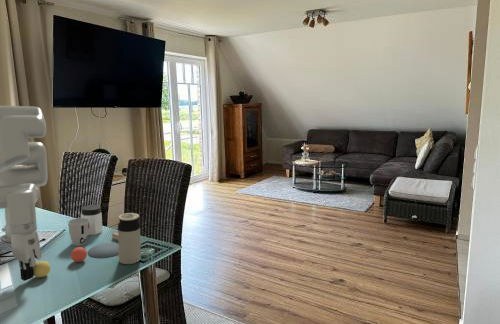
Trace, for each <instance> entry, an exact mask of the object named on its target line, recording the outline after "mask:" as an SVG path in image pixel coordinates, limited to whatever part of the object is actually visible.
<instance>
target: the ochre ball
mask: <svg viewBox="0 0 500 324" xmlns="http://www.w3.org/2000/svg"><path fill="white" fill-rule="evenodd" d="M50 272H51V265H50V264H49V262H48V261H46V260H39V261H37V262H36V265H35V266H33V275H34V277H35V278H43V277H46V276H48V275H49V273H50Z"/></svg>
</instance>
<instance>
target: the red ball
mask: <svg viewBox="0 0 500 324" xmlns="http://www.w3.org/2000/svg"><path fill="white" fill-rule="evenodd" d="M87 256H88V251H87V250H86V249H85V248H84V247H81V246H78V247H75V248H74V249H73V250H71V253H70V258H71V260H72V261H74V262H75V263H81V262H83V261H85V259H86V258H87Z"/></svg>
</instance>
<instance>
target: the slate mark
mask: <svg viewBox="0 0 500 324" xmlns="http://www.w3.org/2000/svg"><path fill="white" fill-rule="evenodd" d="M87 256H89V257H91V258H96V259H106V258H112V257H113V258H114V257H115V256H119V243H118V242H117V243H116V242H107V243H101V244H96V245H94V246H92V247H91V248H89V249H88V251H87Z"/></svg>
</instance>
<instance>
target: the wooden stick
mask: <svg viewBox="0 0 500 324" xmlns="http://www.w3.org/2000/svg"><path fill="white" fill-rule="evenodd" d="M111 235H112V237H111V238H112V240H115V241H117V242H118V231H117V232H113V233H112V234H111ZM140 247H142V241H141V239H140Z"/></svg>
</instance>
